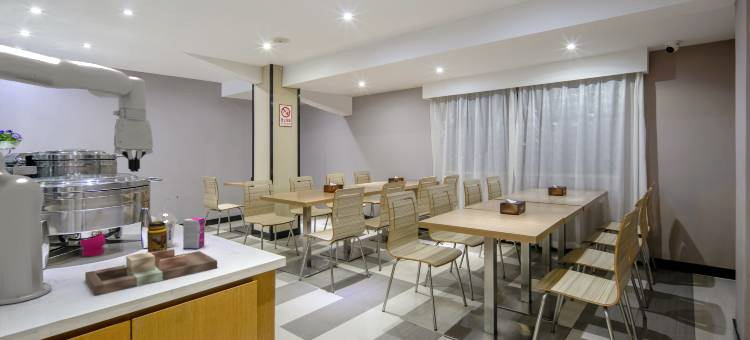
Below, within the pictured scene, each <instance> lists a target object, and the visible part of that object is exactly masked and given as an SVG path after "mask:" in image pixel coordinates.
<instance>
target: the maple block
mask: <svg viewBox="0 0 750 340" xmlns="http://www.w3.org/2000/svg"><path fill="white" fill-rule="evenodd" d="M146 252H147V253H146ZM146 252H141V253H137V254H136V253H135V254H129V255H126V256H125V258H126V259H125V260H126V264H125V265H126V268H127V270H128V271H129V272H130V273H131V274H135V273H140V272H144V271H149V270H154V269H155V256H154V255H152V254H151V253H150V252H148V251H146Z"/></svg>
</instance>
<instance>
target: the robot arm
mask: <svg viewBox="0 0 750 340" xmlns="http://www.w3.org/2000/svg"><path fill="white" fill-rule="evenodd" d="M0 80H4V81H9V82H10V81H11V82H15V83H20V84H26V85H32V86H37V87H40V88H41V87H42V88H48V89H59V90H60V89H62V90H64V89H74V90H75V89H77V90H78V89H79V90H87V91H88V92H89V93H90V94H91V95H93V96H94V97H97V98H102V99H103V98H104V99H107V98H109V99H110V98H112V99H113V98H115V99H118V103H117V104H118V109H117V110H113V111H112V113H113V114H112V115H113V116H116V117H118V118H116V120H115V125H114V134H113V135H114V137H113V138H114V139H113V141H114V142H113V146H114V149H113V153H114V154H118V155H122V156H123V157H125V158H126V159H127V162H128V163H127V165H128V167H127V168H128V170H129V171H130V173H131V172H133V173H136V172H139V170H140V169H141V159H142V158H143V157H144V156H145V155H150V154H153V145H154V143H153V142H154V141H153V134H152V127H151V126H152V125H151V122H150V120H147V100H146V99H147V94H146V81H145V80H144V79H143V78H140V77H135V76H128V75H127V74H126V73H124V72H123V71H120V70H118V69H115V68H111V67H108V66H107V67H106V66H103V65H98V64H95V63H89V62H84V61H77V60H71V59H67V58H62V57H61V58H60V57H55V56H50V55H46V54H42V53H37V52H33V51H30V50H25V49H21V48H18V47H14V46H9V45H5V44H1V43H0ZM132 151H135V155H133V152H132ZM5 166H6V158H5V155H4V154H3V152H2V151H0V305H2V306H3V305H10V304H11V305H12V304H16V303H21V302H22V303H23V302H26V301H30V300H34V299H36V298H38V297H41V296H44V295H47V294H48V293H49V292H50V291H51V290H52V284H51V283H49V282H44V266H43V265H44V264H43V242H42V241H43V239H42V238H43V237H42V211H43V205H44V199H45V198H44V191H43V188H42V187H41V185H40V183H39V182H38V181H36V180H35V179H33V178H32V177H29V176H26V175H19V174H11V173H9V171H7V170H6V169H5V168H6V167H5Z"/></svg>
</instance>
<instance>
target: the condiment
mask: <svg viewBox="0 0 750 340" xmlns="http://www.w3.org/2000/svg"><path fill="white" fill-rule="evenodd" d="M147 225H148V227H147V228H148V230H147V235H146V237H147V251H146V252H145V253H147V252H150V253H151V252H156V251H162V250H168V248H167V230H166V228H165V222H163V221H156V222H153V221H150V222H149V223H148V224H147Z"/></svg>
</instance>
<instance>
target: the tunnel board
mask: <svg viewBox="0 0 750 340" xmlns="http://www.w3.org/2000/svg"><path fill="white" fill-rule="evenodd" d="M175 251H176V250H175V248H169V249H168V248H167V250H162V251H156V252H151V254H152V255H154V256H155V269H154V270H149V271H144V272H140V273H135V274H131V273H130V272H129V271H128V270H127V268H126V264H123V265H118V266H113V267H112V266H111V267H106V268H103V269H102V268H101V269H96V270H90V271H87V272H86V271H85V272H84V275H85V277H84V279H85V280H84V281H85V282H86V284H87V286H88V287H89V289H90V290H91V292H92V293H93V295H94V296H99V295H104V294H108V293H112V292H118V291H121V290H126V289H130V288H135V287H139V286H143V285H148V284H152V283H153V284H154V283H156V282H161V281H165V280H170V278H171V279H174V278H179V276H180V277H183V275H184V276H188V275H192V274H197V273H201V272H206V271H210V270H215V269H218V259H215V258H213V257H212V256H209V255H208V254H206V253H204V252H202V251H200V250H198V251H193V252H188V253H187V252H186V253H183V254H175Z"/></svg>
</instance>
